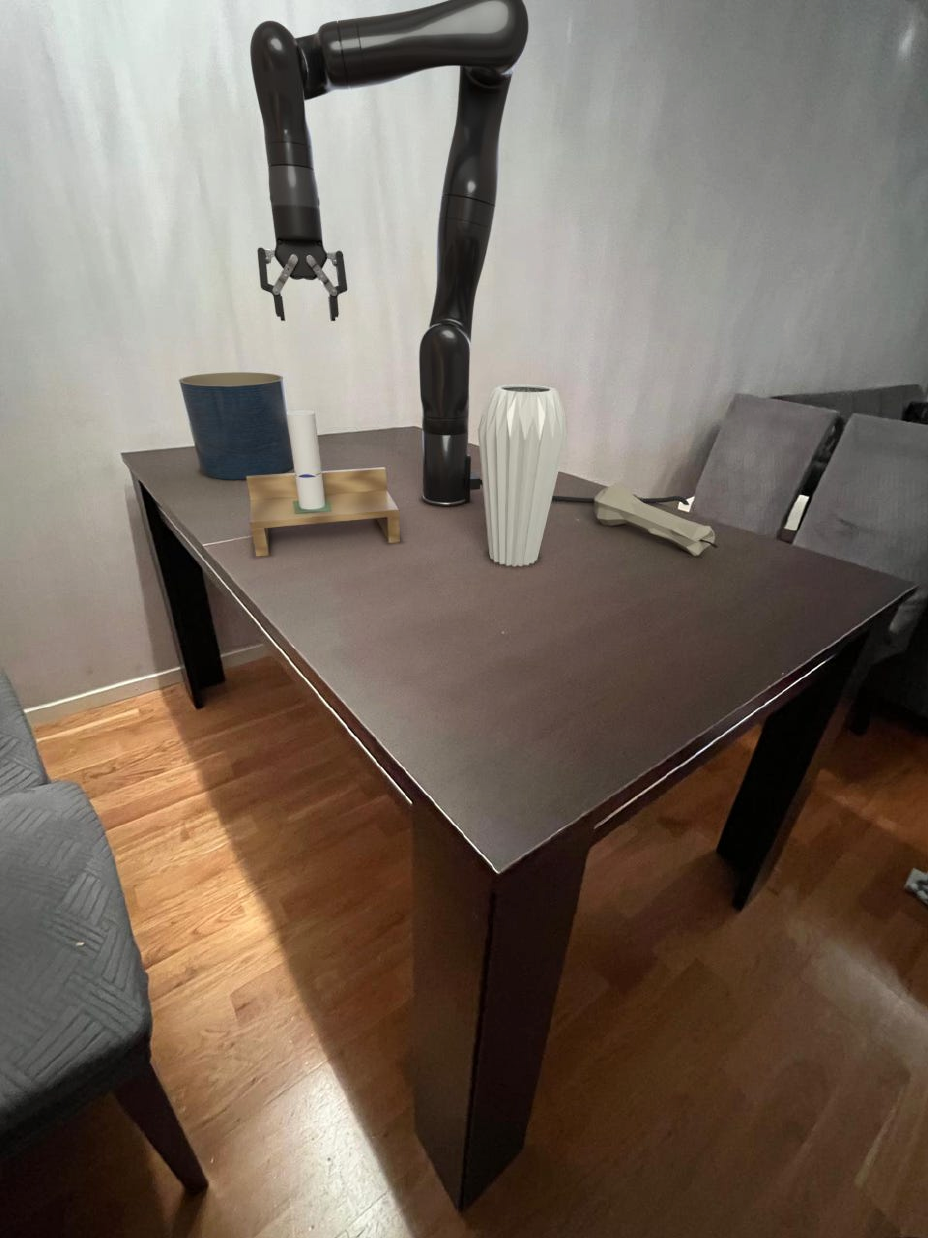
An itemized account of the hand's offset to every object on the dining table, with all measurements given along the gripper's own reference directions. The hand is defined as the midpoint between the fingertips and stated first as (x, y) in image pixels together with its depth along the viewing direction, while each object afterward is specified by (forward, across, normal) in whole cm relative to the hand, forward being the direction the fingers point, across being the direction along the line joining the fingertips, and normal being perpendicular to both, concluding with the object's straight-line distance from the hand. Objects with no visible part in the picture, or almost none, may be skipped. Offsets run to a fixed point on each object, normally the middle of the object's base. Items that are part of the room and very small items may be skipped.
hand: (308, 320), depth 96 cm
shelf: (+33, +2, +18) cm, 38 cm away
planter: (+33, +16, -31) cm, 48 cm away
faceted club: (+33, -54, +34) cm, 72 cm away
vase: (+33, -27, +35) cm, 55 cm away
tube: (+27, +4, +19) cm, 33 cm away
